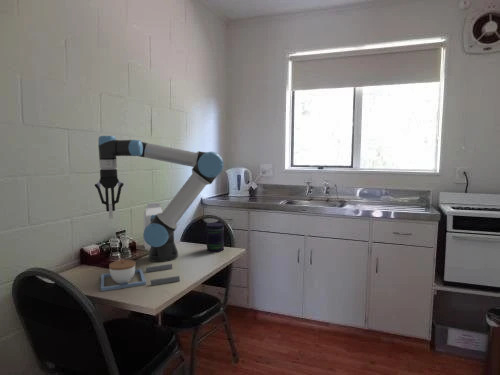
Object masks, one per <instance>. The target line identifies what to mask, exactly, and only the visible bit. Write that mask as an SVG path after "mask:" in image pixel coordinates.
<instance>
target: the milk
mask: <svg viewBox="0 0 500 375" xmlns="http://www.w3.org/2000/svg"><path fill="white" fill-rule="evenodd" d="M163 211H164V210H162V207H161V204H160V202H158V201H156V202H147V205H146V207H145V210H144V212H143V231H144V230H145V228H146V226H148V225H149V224H150V222H151V220H150V219H151V216H152V215H157V214H158V213H162V212H163ZM143 246H144V248H145V250H150V248H151V246H150V245H148V244H147V243H146V242H145V240H144V239H143Z"/></svg>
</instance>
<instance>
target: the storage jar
mask: <svg viewBox="0 0 500 375" xmlns="http://www.w3.org/2000/svg"><path fill="white" fill-rule="evenodd" d="M205 226H206V229H205V231H206V251H207V252H208V251H209V252H208V253H221V251H222V252H223V250H224V251H225V249H224V248H225V240H224V233H225V227H224V223H223V222H216V221H215V222H209V223H206V225H205Z"/></svg>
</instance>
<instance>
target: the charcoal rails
mask: <svg viewBox="0 0 500 375" xmlns="http://www.w3.org/2000/svg"><path fill="white" fill-rule="evenodd" d="M172 269H173V264H172V263H169V264H162V265H161V264H160V265H154V266H153V265H152V266H147V267H145V272H146V273H151V272H157V271H158V272H159V271H164V270H165V271H166V270H172ZM180 278H181V276H180V275H175V276H168V277H162V278H155V279H150V286H156V285H163V284H168V283H169V284H170V283H176V282H180V280H181V279H180Z"/></svg>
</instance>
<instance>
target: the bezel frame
mask: <svg viewBox="0 0 500 375" xmlns="http://www.w3.org/2000/svg"><path fill="white" fill-rule="evenodd" d="M138 273H139V276H140V280H141V281H136V282H121V283H119V284H116V285H115V284H114V285H110V286H109V285H108V286H105V278H109V277H111V275H110V272H109V273H101V274H100V278H101V279H100V292H104V291H113V290H118V289H126V288H131V287H138V286H143V285H144V286H145V285H147V281H146V278H145V275H144V272H143V269H142V268H138V269H135V274H138ZM111 278H112V277H111Z"/></svg>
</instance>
